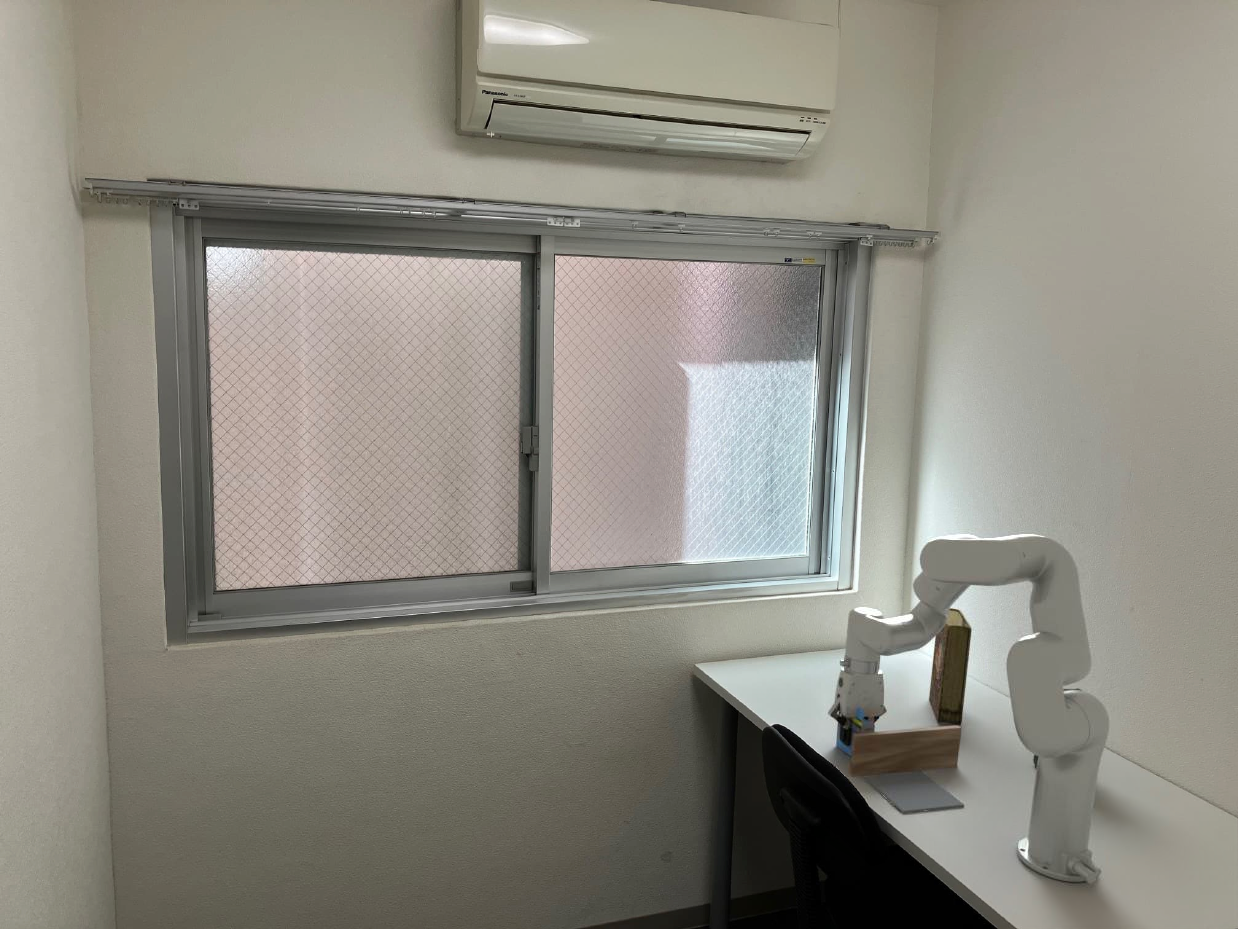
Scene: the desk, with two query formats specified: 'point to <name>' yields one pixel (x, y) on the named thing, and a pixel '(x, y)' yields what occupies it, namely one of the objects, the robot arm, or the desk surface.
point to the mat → (913, 792)
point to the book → (950, 668)
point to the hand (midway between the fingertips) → (854, 742)
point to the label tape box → (855, 730)
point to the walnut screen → (904, 750)
